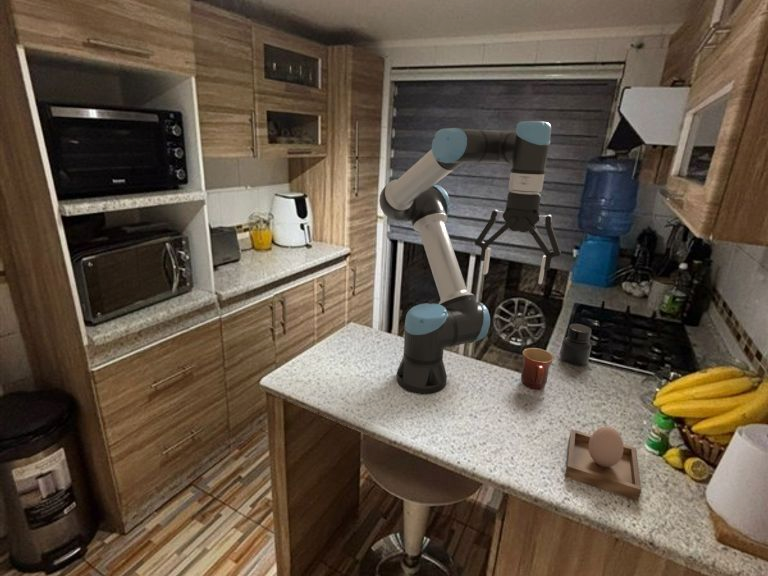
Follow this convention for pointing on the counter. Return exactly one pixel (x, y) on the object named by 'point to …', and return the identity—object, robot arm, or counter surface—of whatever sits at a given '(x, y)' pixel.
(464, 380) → the counter surface
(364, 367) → the counter surface
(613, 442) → the egg
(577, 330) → the ink bottle
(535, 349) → the mug
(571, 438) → the tray
